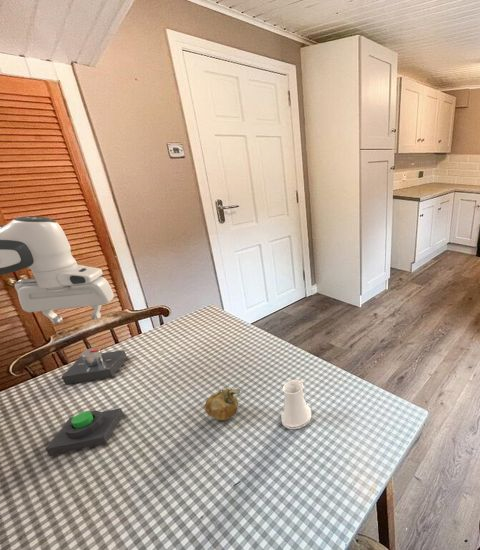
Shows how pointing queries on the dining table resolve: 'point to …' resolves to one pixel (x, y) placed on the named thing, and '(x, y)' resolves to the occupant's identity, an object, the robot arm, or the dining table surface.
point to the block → (86, 433)
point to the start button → (82, 419)
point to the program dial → (92, 356)
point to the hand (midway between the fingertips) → (77, 320)
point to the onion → (222, 404)
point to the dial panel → (95, 368)
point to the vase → (295, 406)
